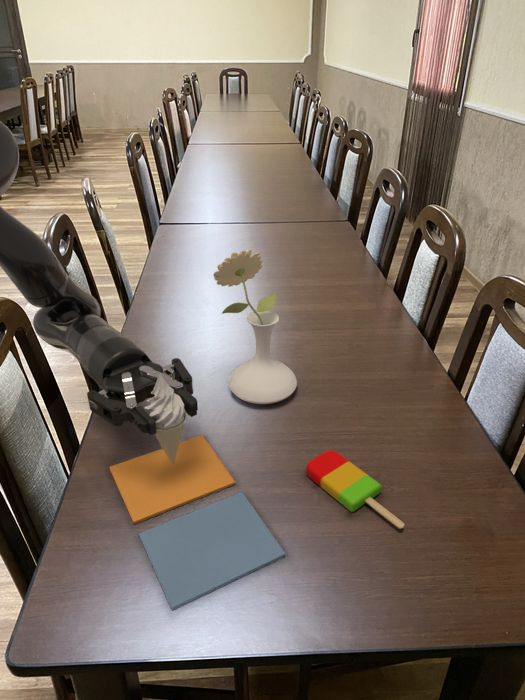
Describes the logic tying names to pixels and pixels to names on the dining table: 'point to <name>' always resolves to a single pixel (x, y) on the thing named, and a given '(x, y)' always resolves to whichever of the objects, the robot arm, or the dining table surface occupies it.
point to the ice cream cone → (167, 417)
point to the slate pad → (209, 549)
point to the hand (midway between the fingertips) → (174, 419)
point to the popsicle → (347, 483)
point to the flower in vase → (261, 371)
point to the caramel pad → (169, 479)
